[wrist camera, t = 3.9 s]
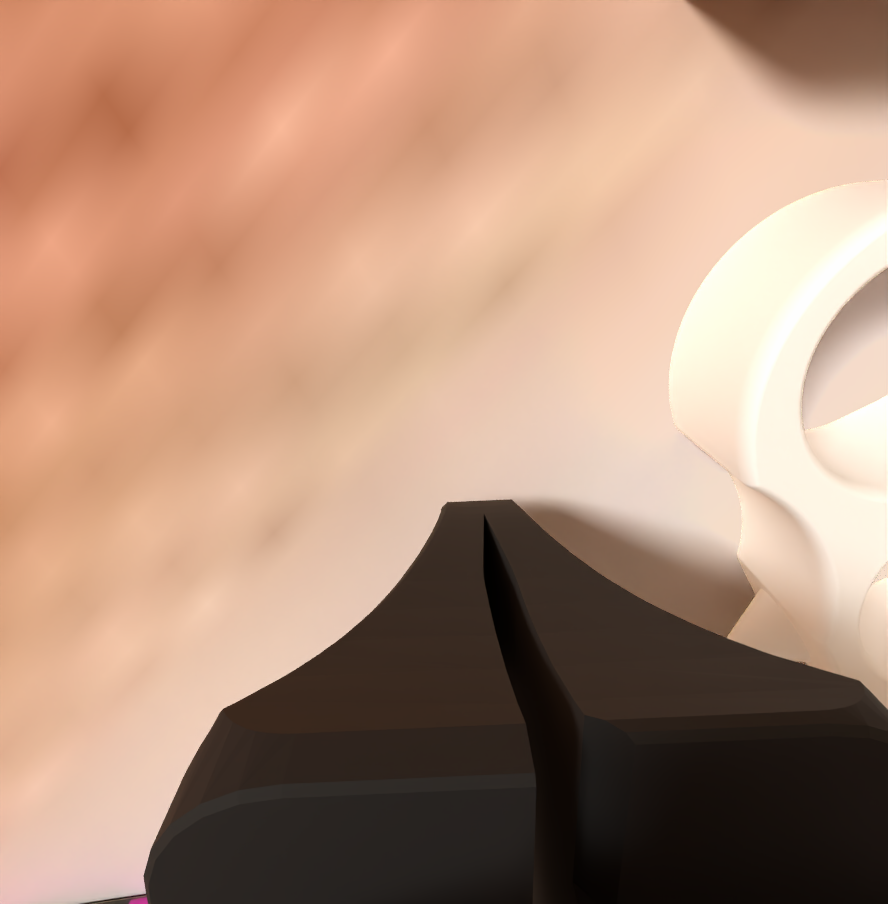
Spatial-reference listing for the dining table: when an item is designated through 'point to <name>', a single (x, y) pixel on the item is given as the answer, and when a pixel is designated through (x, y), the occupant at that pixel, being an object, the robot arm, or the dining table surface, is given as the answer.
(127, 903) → the candy bar box
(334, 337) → the dining table surface
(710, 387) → the white brass knuckles
